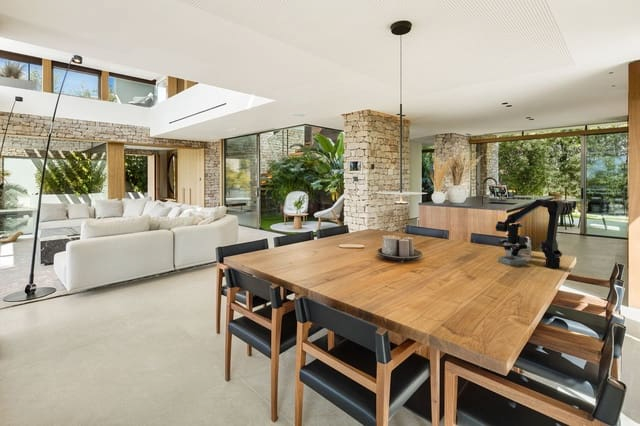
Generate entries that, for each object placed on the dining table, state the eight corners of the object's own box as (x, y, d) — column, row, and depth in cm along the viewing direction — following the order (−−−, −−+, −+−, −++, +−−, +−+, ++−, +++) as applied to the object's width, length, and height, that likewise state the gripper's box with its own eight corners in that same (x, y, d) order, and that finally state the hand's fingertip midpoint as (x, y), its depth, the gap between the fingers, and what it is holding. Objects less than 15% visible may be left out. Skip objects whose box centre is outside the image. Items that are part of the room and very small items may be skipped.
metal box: (517, 259, 211) (518, 250, 211) (511, 260, 211) (511, 251, 210) (512, 258, 216) (512, 249, 216) (505, 258, 216) (506, 249, 215)
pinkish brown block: (530, 261, 209) (530, 255, 209) (523, 261, 208) (524, 256, 208) (522, 258, 215) (523, 253, 214) (516, 259, 214) (517, 254, 214)
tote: (526, 265, 198) (526, 259, 198) (510, 266, 196) (510, 260, 196) (513, 261, 208) (513, 255, 208) (498, 261, 207) (498, 256, 207)
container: (518, 256, 221) (519, 237, 220) (514, 253, 228) (515, 235, 227) (531, 257, 219) (532, 237, 217) (527, 254, 226) (528, 235, 225)
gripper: (535, 235, 204) (534, 259, 205) (513, 230, 222) (512, 253, 224) (519, 235, 202) (518, 260, 204) (498, 231, 220) (497, 253, 222)
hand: (511, 256), depth 213 cm, fingers closed on metal box, 5 cm apart
